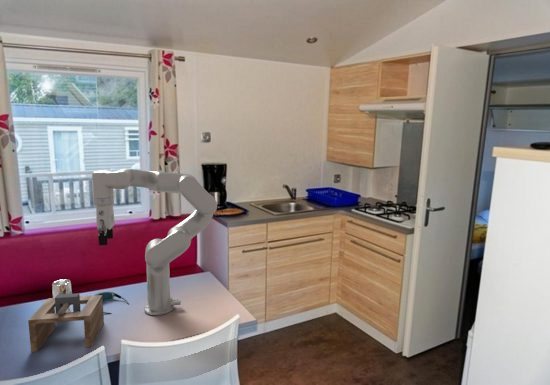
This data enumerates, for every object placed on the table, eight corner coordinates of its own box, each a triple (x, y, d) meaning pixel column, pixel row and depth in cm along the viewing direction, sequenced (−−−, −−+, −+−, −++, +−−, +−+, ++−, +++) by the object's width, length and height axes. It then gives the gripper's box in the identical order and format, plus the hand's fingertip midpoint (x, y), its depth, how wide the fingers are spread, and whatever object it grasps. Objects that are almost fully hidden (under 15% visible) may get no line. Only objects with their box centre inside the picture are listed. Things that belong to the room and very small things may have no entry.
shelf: (103, 322, 156) (101, 290, 154) (91, 346, 139) (89, 310, 136) (50, 326, 152) (47, 293, 150) (31, 351, 135) (27, 314, 133)
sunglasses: (108, 297, 181) (109, 287, 180) (132, 307, 175) (132, 297, 174) (82, 309, 168) (83, 299, 167) (107, 320, 162) (108, 310, 161)
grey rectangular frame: (80, 316, 147) (79, 293, 145) (78, 320, 144) (77, 296, 142) (59, 317, 145) (57, 294, 144) (56, 321, 142) (54, 297, 141)
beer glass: (65, 320, 157) (62, 286, 155) (50, 318, 159) (47, 284, 156) (77, 313, 164) (74, 279, 162) (62, 311, 166) (60, 278, 163)
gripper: (108, 204, 148) (111, 247, 150) (118, 197, 165) (120, 235, 167) (87, 205, 146) (90, 248, 149) (99, 197, 163) (101, 236, 166)
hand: (106, 241), depth 158 cm, fingers open, 9 cm apart
